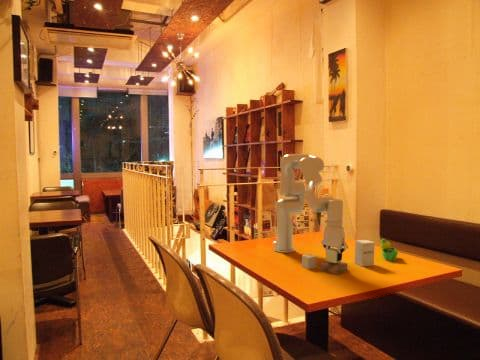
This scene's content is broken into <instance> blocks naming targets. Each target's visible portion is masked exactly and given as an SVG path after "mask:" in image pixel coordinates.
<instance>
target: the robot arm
mask: <svg viewBox="0 0 480 360" xmlns="http://www.w3.org/2000/svg"><path fill="white" fill-rule="evenodd" d="M324 162H325V161H324V160H323V159H322V158H321V157H319V156H316V155H315V156H314V155H312V154H309V153H307V154H305V153H301V154H300V153H289V154H284V156H282V157H281V159H280V163H279V166H280V181H279V194H280V196H281V197H284V198H281V199H278V200H277V201H276V203H275V212H276V241H272V246H274V247H273V250H274V251H275V252H276V253H285V254H286V253H288V254H289V253H294V252H295V251H296V249H295V247H293V239H294V238H293V231H294V228H293V227H294V226H293V224H294V222H293V219H292V217H291V215H297V214H298V215H299V214H301V213H302V212H303V211H304V208H305V207H304V205H305V201H306V203H307V205H308V207H309V209H310V210H311V211H312V212H313V213H327V216H326V217H327V218H326V220H325V221H324V222H325V224H326V225H325V227H324V231H323V236H322V237H323V238H322V240H321V241H320V244H321V245H322V246H323V248H324V250H325V251H326V249H329V248H332V247H333V248H337V249H338V254H337V261H340V260H341V259H343V253H344V252H345V251H346V250H347V249H349V245H348V244H347V242H346V236H345V235H346V234H345V230H344V226H343V223H344V222H343V217H344V215H343V214H344V212H343V211H344V202H343V200H342V199H338V198H337V199H336V198H333V197H331V196H326V197H325V196H324V197H317V196H316V193H315V189H314V188H316V187H318V186H319V185H320V184H321V183H322V181H323V177H322V176H321V172H323V171H324V168H325V163H324ZM294 169H295V170H296V169H298V170H300V172H301V174H302V176H303V179H304V180H305V183H306V186H305V184H304V183H303V181H301V180H296V172H295V170H294ZM341 261H342V260H341ZM341 261H340V262H341Z"/></svg>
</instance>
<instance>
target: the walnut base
mask: <svg viewBox="0 0 480 360" xmlns="http://www.w3.org/2000/svg"><path fill="white" fill-rule="evenodd" d="M319 271H320V272H323V273H327V274H332V275H336V276H339V275H341V274H343V273H346V271H348V262H344V261H343V262H342V261H340V262H338V263H333V262H328V261H326V260H325V261H323V262H321V263H320V264H319Z"/></svg>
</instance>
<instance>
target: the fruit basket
mask: <svg viewBox="0 0 480 360" xmlns="http://www.w3.org/2000/svg"><path fill="white" fill-rule="evenodd" d="M379 244H380V250H381V253H382V258H383V259H384V261H390V262H391V261H392V262H394V261H396V259H397V257H398V255H399V251H398V250H397V249H396V248H395V247H392V246H391V245H392V244H391V243H390V242H389V241H388V240H387V239H385V238H381V239H380V241H379Z"/></svg>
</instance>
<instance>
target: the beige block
mask: <svg viewBox="0 0 480 360" xmlns="http://www.w3.org/2000/svg"><path fill="white" fill-rule="evenodd" d="M337 254H338V249H337V248H336V247H330V248H329V249H326V250H325V256H326V258H325V261H328V262H333V263H338V262H342V259H343V258H342V259H341V260H340V261H337Z"/></svg>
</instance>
